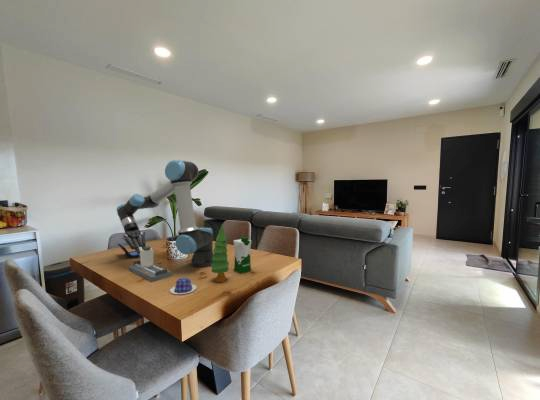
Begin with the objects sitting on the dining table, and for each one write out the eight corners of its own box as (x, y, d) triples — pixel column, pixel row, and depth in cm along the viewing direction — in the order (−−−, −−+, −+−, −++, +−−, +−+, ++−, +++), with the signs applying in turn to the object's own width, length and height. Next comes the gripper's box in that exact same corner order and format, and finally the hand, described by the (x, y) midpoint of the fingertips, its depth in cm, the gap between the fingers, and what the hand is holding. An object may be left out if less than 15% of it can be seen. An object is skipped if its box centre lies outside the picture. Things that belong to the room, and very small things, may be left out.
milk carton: (241, 274, 138) (241, 239, 137) (231, 270, 144) (231, 236, 143) (253, 270, 144) (253, 237, 143) (243, 267, 151) (243, 234, 149)
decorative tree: (232, 279, 130) (232, 223, 128) (218, 285, 123) (217, 225, 121) (221, 275, 136) (220, 221, 135) (206, 280, 129) (206, 223, 128)
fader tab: (139, 267, 141) (139, 247, 140) (150, 265, 146) (149, 245, 145) (143, 269, 138) (143, 248, 137) (154, 266, 143) (154, 246, 142)
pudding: (197, 284, 125) (197, 274, 124) (194, 294, 113) (194, 283, 113) (173, 286, 123) (172, 275, 122) (167, 296, 111) (166, 285, 111)
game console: (145, 256, 173) (145, 243, 173) (123, 260, 164) (123, 247, 163) (138, 252, 185) (138, 240, 184) (118, 255, 175) (117, 243, 175)
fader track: (129, 270, 144) (128, 262, 144) (147, 265, 153) (147, 258, 153) (152, 281, 127) (151, 273, 127) (171, 275, 136) (171, 268, 135)
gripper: (139, 228, 159) (152, 258, 149) (116, 231, 149) (129, 263, 139) (142, 220, 155) (156, 251, 146) (120, 223, 145) (133, 256, 136)
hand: (143, 257), depth 142 cm, fingers closed
